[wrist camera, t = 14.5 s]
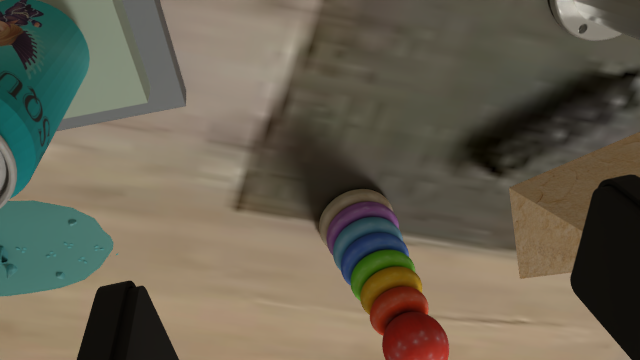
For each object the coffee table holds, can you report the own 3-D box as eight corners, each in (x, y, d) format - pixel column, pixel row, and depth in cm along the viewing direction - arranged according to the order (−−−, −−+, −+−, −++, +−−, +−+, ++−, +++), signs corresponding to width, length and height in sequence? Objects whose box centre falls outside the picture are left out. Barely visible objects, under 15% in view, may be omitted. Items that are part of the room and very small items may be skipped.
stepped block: (127, -110, 30) (114, -107, 25) (186, 91, 38) (185, 123, 33) (-108, -78, 28) (-170, -69, 24) (5, 125, 36) (-25, 164, 31)
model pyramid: (637, 227, 62) (705, 280, 54) (516, 278, 62) (565, 339, 54) (647, 123, 52) (731, 169, 44) (504, 184, 52) (562, 241, 44)
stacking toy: (302, 230, 49) (352, 392, 33) (348, 173, 46) (427, 320, 31) (358, 255, 52) (426, 411, 37) (404, 203, 50) (498, 348, 35)
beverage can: (85, -7, 28) (0, 88, 15) (101, 86, 31) (40, 227, 18) (-26, -11, 26) (-218, 88, 14) (2, 86, 29) (-136, 238, 17)
